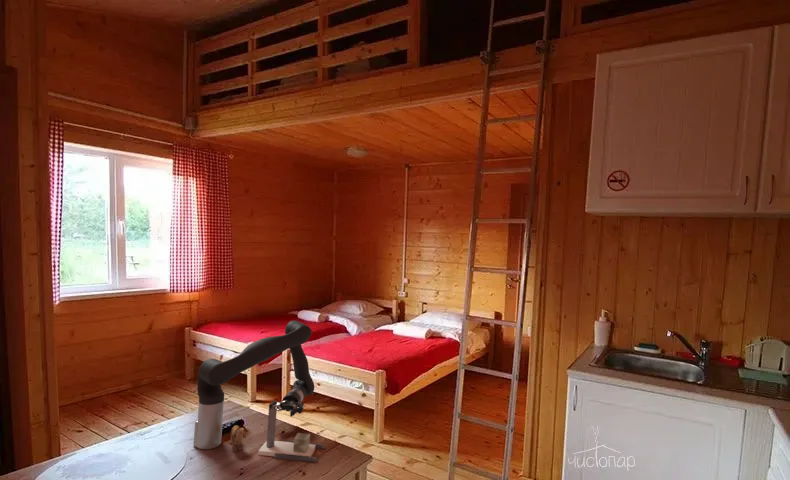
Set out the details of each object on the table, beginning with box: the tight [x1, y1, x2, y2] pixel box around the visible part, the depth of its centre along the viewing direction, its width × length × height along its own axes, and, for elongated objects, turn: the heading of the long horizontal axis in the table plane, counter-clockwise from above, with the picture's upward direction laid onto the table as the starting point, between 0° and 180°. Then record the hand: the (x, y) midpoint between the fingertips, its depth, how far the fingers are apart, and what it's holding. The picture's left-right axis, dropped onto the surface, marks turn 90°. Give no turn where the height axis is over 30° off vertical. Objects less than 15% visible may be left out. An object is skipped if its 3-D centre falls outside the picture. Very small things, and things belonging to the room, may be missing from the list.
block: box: [293, 432, 311, 453], centre depth 163 cm, size 5×5×5 cm
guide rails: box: [274, 440, 325, 463], centre depth 163 cm, size 16×12×2 cm
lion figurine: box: [228, 424, 249, 452], centre depth 166 cm, size 15×5×9 cm, turn 36°
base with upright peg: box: [257, 408, 316, 457], centre depth 163 cm, size 20×9×16 cm, turn 86°
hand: (281, 413), depth 175 cm, fingers open, 8 cm apart
